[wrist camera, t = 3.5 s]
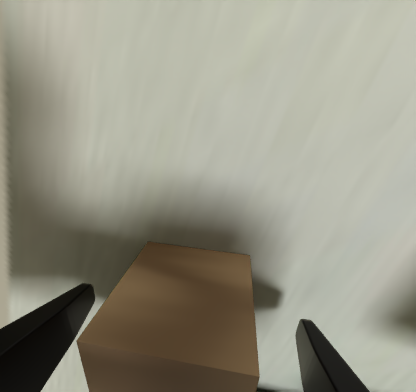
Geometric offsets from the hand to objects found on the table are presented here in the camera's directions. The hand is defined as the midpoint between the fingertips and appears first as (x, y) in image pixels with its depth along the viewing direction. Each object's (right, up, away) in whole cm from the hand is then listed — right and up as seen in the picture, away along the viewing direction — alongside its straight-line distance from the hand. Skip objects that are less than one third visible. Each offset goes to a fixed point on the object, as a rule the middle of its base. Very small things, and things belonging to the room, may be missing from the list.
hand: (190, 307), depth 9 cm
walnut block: (0, 0, +1) cm, 1 cm away
